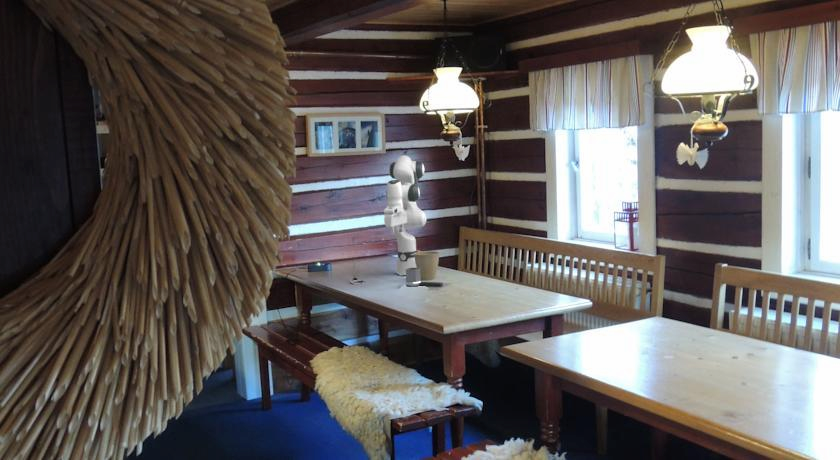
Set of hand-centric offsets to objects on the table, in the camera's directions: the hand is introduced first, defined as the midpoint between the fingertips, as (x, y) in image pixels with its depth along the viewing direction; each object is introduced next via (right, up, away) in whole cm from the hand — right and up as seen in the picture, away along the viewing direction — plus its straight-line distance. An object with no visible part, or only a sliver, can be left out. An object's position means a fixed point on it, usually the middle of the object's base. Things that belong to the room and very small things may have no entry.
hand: (397, 233), depth 447 cm
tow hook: (-23, -29, +14) cm, 40 cm away
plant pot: (+18, -27, +11) cm, 34 cm away
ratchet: (+15, -29, -10) cm, 34 cm away
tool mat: (+15, -30, -10) cm, 35 cm away
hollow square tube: (+9, -27, -8) cm, 29 cm away
